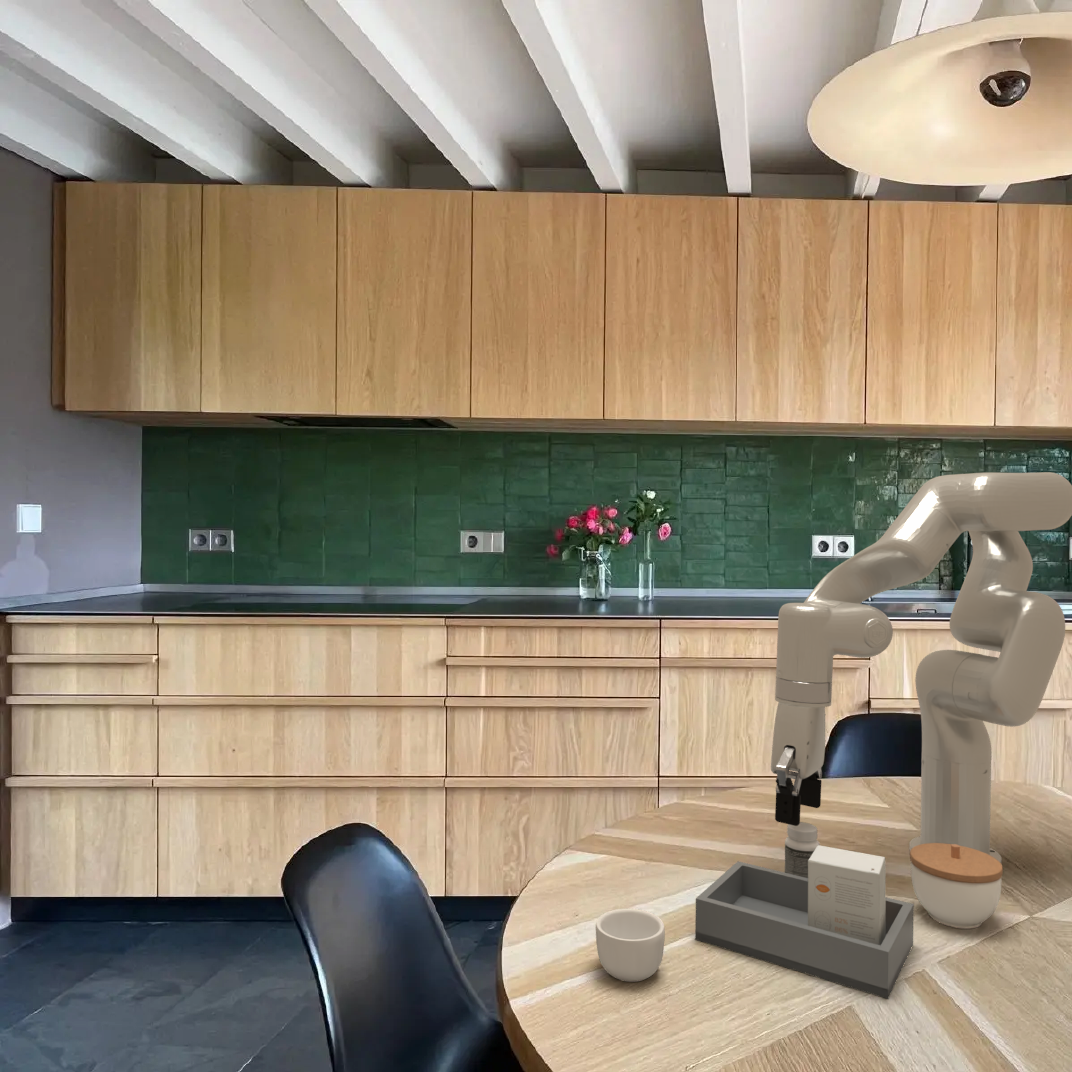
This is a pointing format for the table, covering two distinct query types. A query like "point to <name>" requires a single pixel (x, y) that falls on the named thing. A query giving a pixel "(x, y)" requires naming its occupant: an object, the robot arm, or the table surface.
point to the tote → (798, 930)
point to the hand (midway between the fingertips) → (798, 814)
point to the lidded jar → (956, 883)
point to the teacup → (630, 943)
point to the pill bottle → (800, 848)
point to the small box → (847, 893)
